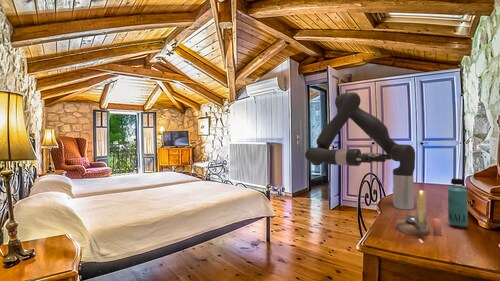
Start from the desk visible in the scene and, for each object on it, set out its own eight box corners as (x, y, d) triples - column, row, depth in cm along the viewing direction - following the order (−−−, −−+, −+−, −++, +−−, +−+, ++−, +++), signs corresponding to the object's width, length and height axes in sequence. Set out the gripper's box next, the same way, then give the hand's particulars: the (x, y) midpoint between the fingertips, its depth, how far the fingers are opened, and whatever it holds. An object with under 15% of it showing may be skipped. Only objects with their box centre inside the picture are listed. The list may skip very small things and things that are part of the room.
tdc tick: (418, 239, 93) (418, 239, 93) (421, 239, 93) (421, 239, 93) (420, 242, 90) (420, 242, 90) (423, 243, 90) (423, 242, 90)
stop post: (432, 233, 98) (431, 218, 98) (438, 233, 98) (438, 218, 98) (436, 236, 96) (436, 220, 96) (443, 235, 96) (442, 220, 96)
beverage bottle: (458, 224, 108) (458, 177, 107) (473, 229, 101) (472, 179, 101) (443, 224, 107) (443, 177, 107) (457, 230, 101) (456, 180, 101)
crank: (403, 220, 105) (402, 184, 105) (416, 220, 104) (416, 185, 104) (416, 230, 93) (415, 191, 93) (431, 231, 92) (430, 191, 92)
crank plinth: (391, 226, 107) (391, 219, 107) (417, 225, 108) (417, 218, 108) (407, 236, 96) (407, 228, 96) (436, 235, 97) (436, 227, 97)
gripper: (341, 150, 108) (383, 150, 97) (353, 147, 118) (392, 147, 107) (342, 167, 108) (383, 169, 97) (354, 163, 118) (393, 165, 108)
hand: (388, 158), depth 102 cm, fingers open, 8 cm apart
